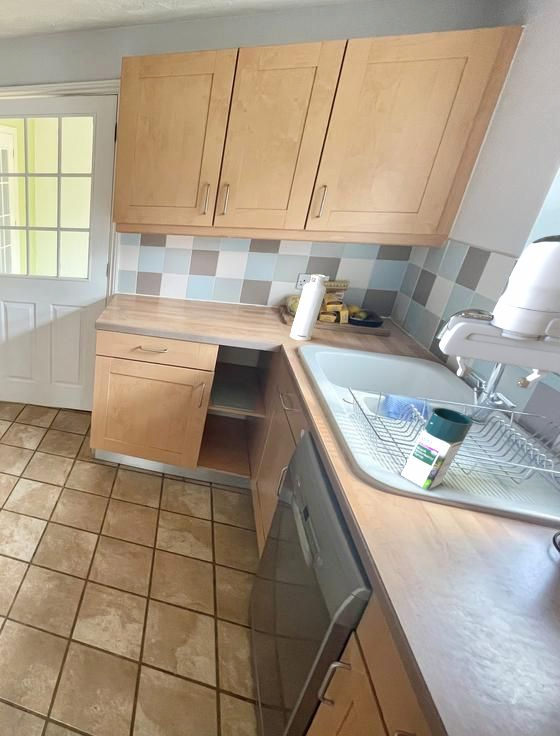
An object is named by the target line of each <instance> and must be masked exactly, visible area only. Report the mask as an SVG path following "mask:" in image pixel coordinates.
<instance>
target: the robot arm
mask: <svg viewBox="0 0 560 736" xmlns="http://www.w3.org/2000/svg"><path fill="white" fill-rule="evenodd" d="M510 273H511V274H510V276H509V277H508V284H507V288H506V290H505V292H503V294H501V296H500V297H499V298H498V301H497V303H496V305H495V306H494V309H493V310H492V313H491V314H485V313H473V312H471V311H470V312H469V311H462V313H457V314H454V315H452V316H451V317H450V319H449V320H448V323H447V325H446V326H447V330H446V331H445V332H444V334H443V336H442V338H441V339H440V341H439V343H438V347H439V349H440V351H441V352H442V353H443V354H444V355H448V356H453V357H456V361H457V364H458V369H457V372H456V375H457V377H460V378H466V379H468V378H469V377H470V374H471V372H472V370H471V369H470V367H467V366H466V365H465V363H467V364H468V363H469V361H470V359H472V360H477V361H484V362H489V363H496V364H500V365H502V364H503V365H507V366H513V367H519V368H525V369H526V368H527V369H531V370H532V371H533V373H531V374H529V375H528V376H526V377H523V376H520V377H519V379H518V381H517V383H516V386H517V387H518V388H521V389H526V390H531V388H532V387H533V385H534V383H536V382H539V381H540V380H542V379H544V378H546V377H547V376H548V374H549V373H555V374H560V234H555V235H550V236H549V235H547V236H544V237H541V238H538V239H536V240H534V241H532V242H531V243H530V244H528V246H527V247H526V248H525V249H524V250H523V252H522V254H521V255H520V257H519V258H518V260H517V262H516V264H515V266H514V267H513V269H512V270H511V272H510Z"/></svg>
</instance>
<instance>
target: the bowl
mask: <svg viewBox="0 0 560 736" xmlns="http://www.w3.org/2000/svg"><path fill="white" fill-rule="evenodd" d="M426 419H427V420H426V421H425V424H424V425H423V428H424V430H426V431H427V432H428V433H429V434H430V435H432V436H434V437H435V438H438V439H440V440H443V441H447V442H454V443H456V442H462V441H463V440H464V441H465V439H466V437H467V436H468V434H469V432H470V430H471V427H472V426H473V425H474V421H473V419H472V418H471V417H469V416H468V415H466V414H464V413H462V412H460V411H457V410H453V409H451V408H445V407H434V408H432V409H431V411H430V413H429V415H428V417H427V418H426ZM464 441H463V442H464Z"/></svg>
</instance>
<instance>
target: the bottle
mask: <svg viewBox="0 0 560 736" xmlns="http://www.w3.org/2000/svg"><path fill="white" fill-rule="evenodd" d="M325 279H326V276H325V275H323V274H319V273H313V274H311V277H310V281H309V282H307V283H305V284H304V285H303V288H302V291H301V294H300V295H301V296H300V299H299V302H298V306H297V310H296V313H295V317H294V319H293V320H294V321H293V323H292V326H291V331H290V334H289V337H290V338H292V339H294V340H297V341H303V342H309V341H311V340H312V335H313V333H314V331H315V326H316V323H317V320H318V317H319V314H320V311H321V307H322V304H323V301H324V297H325V294H326V291H327V287H326V286H325V285H324V281H325Z"/></svg>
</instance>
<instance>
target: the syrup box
mask: <svg viewBox="0 0 560 736" xmlns="http://www.w3.org/2000/svg"><path fill="white" fill-rule="evenodd" d="M464 441H465V439H464V440H463V441H462V442H456V443H454V442H447V441H443V440H440V439H438V438H435V437H434V436H432V435H430V434H429V433H428V432H427V431H426V430H425V429H424V430H422V431H421V432H420V434H419V437H418V438H417V440H416V442H415V445H414V447H413V449H412V450H411V453H410V456H409V458H408V460H407V462H406V464H405V466H404V468H403V470H402V472H401V474H400V475H401V476H402V477H404V478H406V479H407V480H409V481H411V482H412V483H413V484H416V485H417V486H418V487H421V488H422V489H424V490H426V491H428V490H430V489H433V488H435V487H437V486H439V485H441V484H442V481H443V480H444V478H445V476H446V474H447V472H448V470H449V468H450V467H451V465H452V463H453V461H454V459H455V457H456V456H457V454H458V452H459V450H460V448H461V447H462V445H463V442H464Z"/></svg>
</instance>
